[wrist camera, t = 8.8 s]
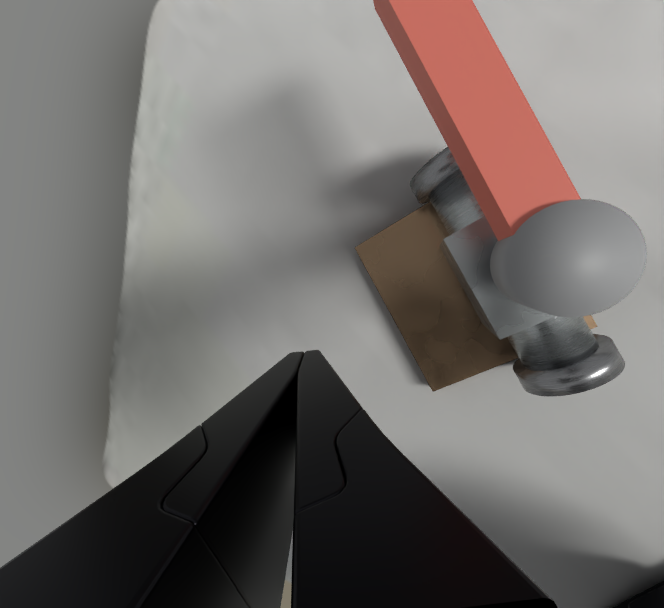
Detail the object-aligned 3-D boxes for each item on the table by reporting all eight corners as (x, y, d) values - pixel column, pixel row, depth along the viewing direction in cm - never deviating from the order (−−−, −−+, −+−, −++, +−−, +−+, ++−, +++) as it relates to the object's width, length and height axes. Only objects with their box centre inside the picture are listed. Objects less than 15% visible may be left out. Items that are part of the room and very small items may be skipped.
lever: (515, 322, 11) (538, 335, 9) (359, 26, 11) (343, -34, 9) (615, 281, 10) (671, 285, 8) (439, -40, 10) (443, -126, 8)
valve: (598, 340, 16) (709, 384, 10) (440, 400, 19) (447, 465, 13) (487, 149, 17) (524, 75, 10) (350, 235, 19) (314, 218, 13)
